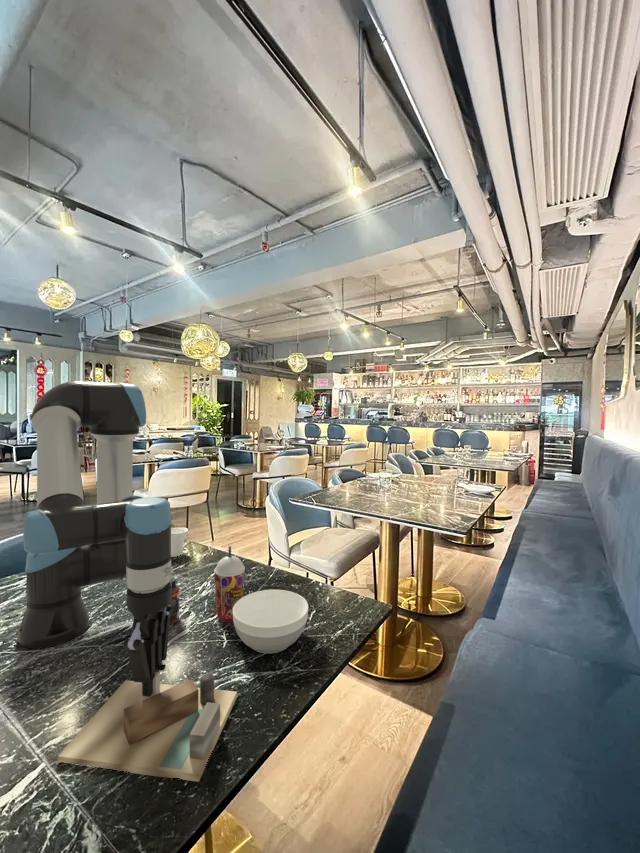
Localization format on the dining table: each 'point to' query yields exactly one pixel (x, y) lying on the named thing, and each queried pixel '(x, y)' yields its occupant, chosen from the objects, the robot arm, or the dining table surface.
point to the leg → (160, 711)
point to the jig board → (153, 735)
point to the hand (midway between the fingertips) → (151, 707)
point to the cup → (177, 540)
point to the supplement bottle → (174, 602)
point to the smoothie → (228, 585)
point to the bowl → (270, 619)
